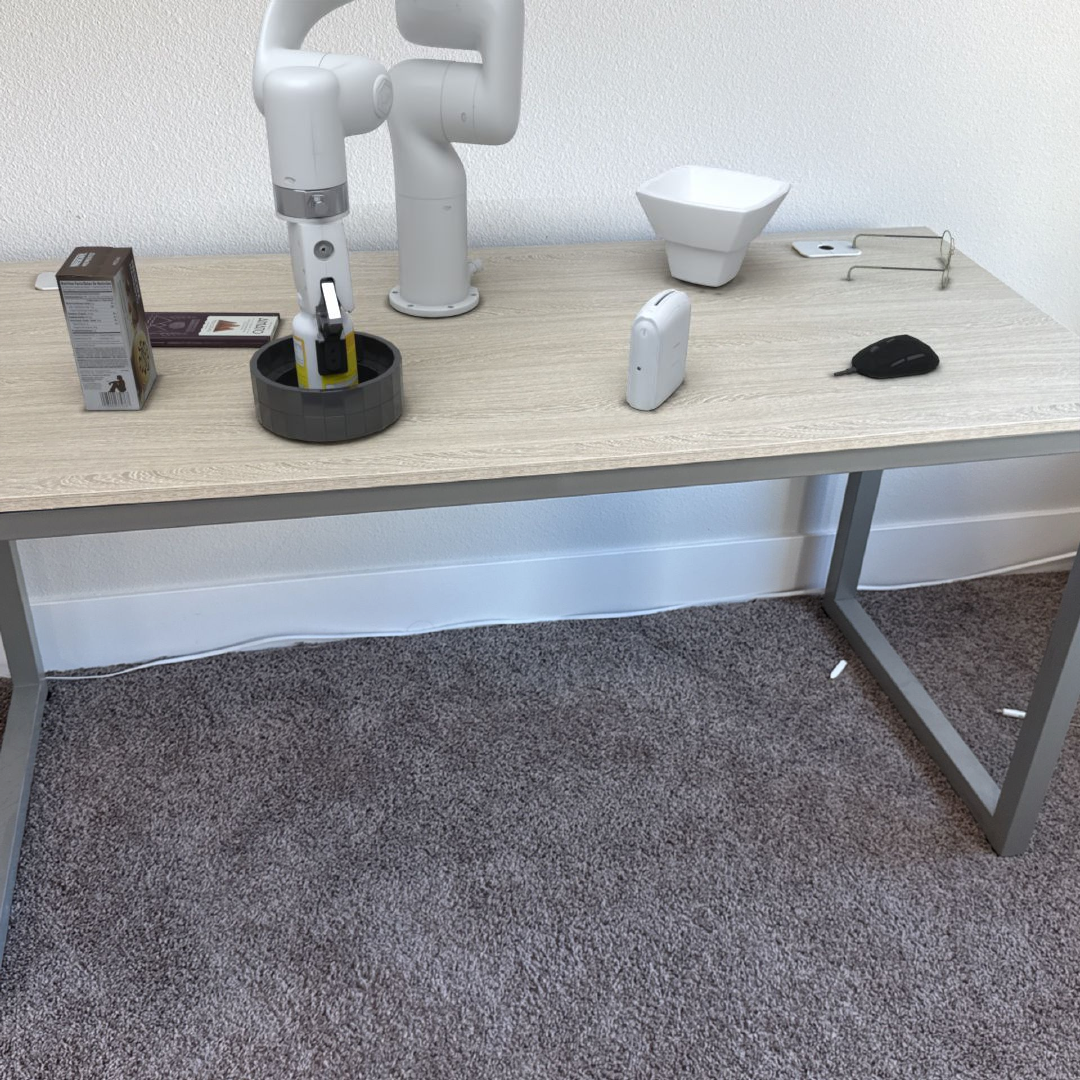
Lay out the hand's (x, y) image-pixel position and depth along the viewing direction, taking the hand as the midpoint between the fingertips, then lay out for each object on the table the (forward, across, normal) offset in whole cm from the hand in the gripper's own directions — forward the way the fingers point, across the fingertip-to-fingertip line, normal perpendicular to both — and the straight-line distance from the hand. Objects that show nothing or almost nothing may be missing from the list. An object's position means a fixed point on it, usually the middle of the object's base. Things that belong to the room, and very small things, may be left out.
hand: (326, 358), depth 121 cm
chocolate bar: (+6, +27, +11) cm, 30 cm away
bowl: (+7, +25, -62) cm, 67 cm away
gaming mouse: (+7, -10, -69) cm, 70 cm away
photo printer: (+7, -8, -38) cm, 39 cm away
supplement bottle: (+5, 0, 0) cm, 5 cm away
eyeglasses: (+7, +21, -93) cm, 95 cm away
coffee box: (+7, +12, +22) cm, 26 cm away
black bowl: (+6, 0, 0) cm, 6 cm away
